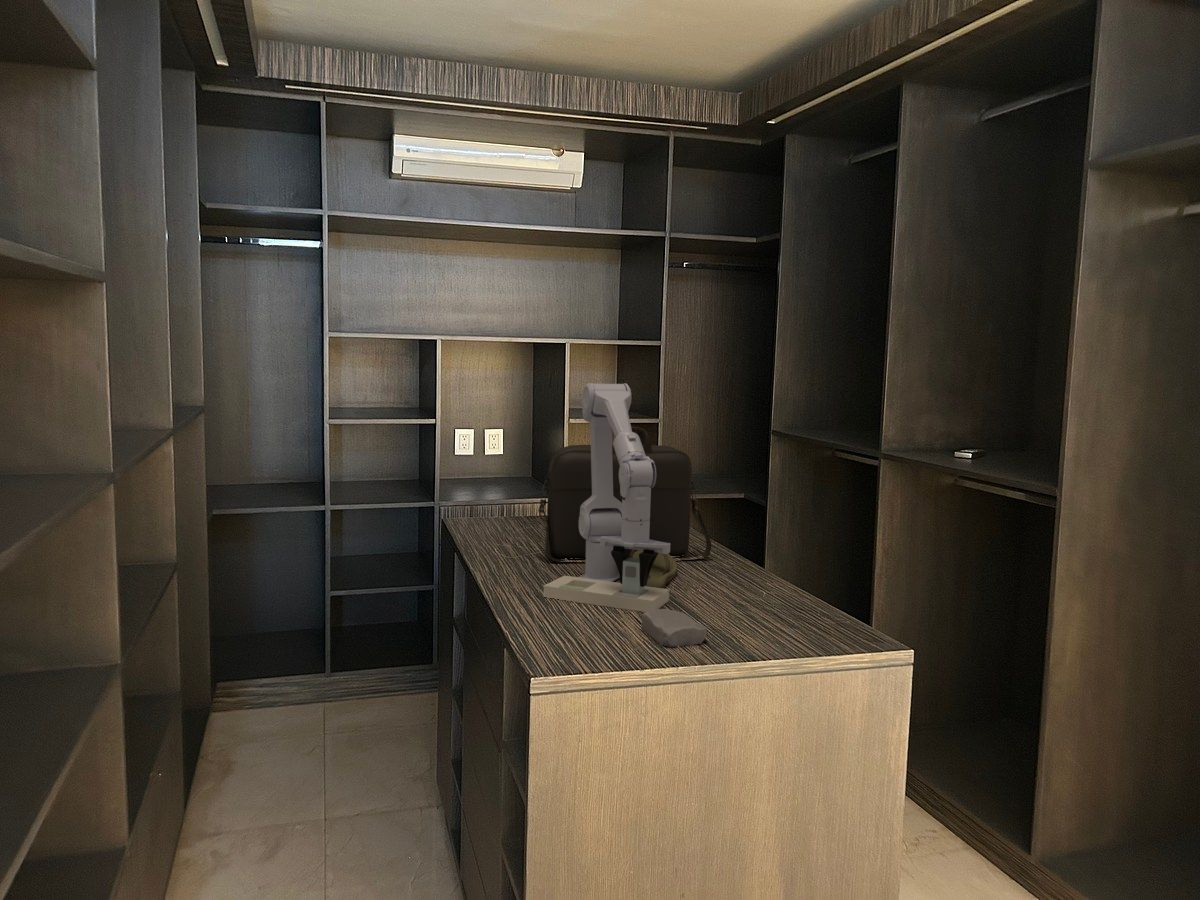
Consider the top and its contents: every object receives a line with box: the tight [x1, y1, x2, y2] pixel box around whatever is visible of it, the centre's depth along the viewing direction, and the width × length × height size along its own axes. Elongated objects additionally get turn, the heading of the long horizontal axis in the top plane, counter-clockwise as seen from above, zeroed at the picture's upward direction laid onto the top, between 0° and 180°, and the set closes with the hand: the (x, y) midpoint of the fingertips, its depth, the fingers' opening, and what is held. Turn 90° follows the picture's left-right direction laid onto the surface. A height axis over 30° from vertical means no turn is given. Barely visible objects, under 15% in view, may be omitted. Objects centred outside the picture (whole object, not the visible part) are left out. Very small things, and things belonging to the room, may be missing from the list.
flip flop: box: [629, 549, 678, 589], centre depth 211 cm, size 29×12×8 cm, turn 168°
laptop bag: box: [537, 424, 712, 563], centre depth 232 cm, size 43×13×33 cm, turn 101°
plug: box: [622, 557, 645, 595], centre depth 190 cm, size 4×4×9 cm
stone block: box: [641, 608, 708, 648], centre depth 170 cm, size 12×5×10 cm
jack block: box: [543, 575, 670, 613], centre depth 193 cm, size 10×24×3 cm, turn 67°
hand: (633, 584), depth 191 cm, fingers closed on plug, 4 cm apart
